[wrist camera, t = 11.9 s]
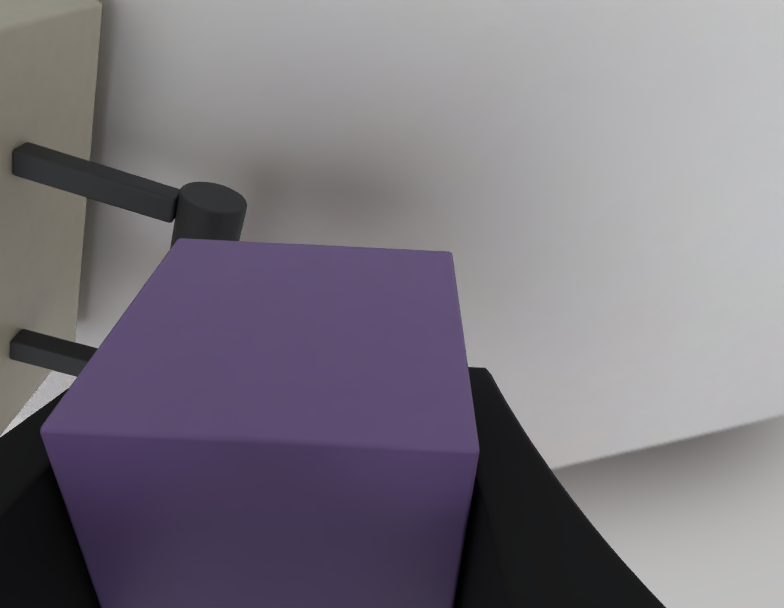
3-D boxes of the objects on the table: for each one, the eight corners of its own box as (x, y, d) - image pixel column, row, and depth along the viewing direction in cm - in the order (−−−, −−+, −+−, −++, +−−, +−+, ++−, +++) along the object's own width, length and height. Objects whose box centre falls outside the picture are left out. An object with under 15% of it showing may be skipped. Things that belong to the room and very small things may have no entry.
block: (430, 449, 12) (442, 683, 8) (208, 438, 12) (119, 669, 8) (452, 250, 10) (480, 451, 6) (177, 236, 10) (36, 429, 6)
